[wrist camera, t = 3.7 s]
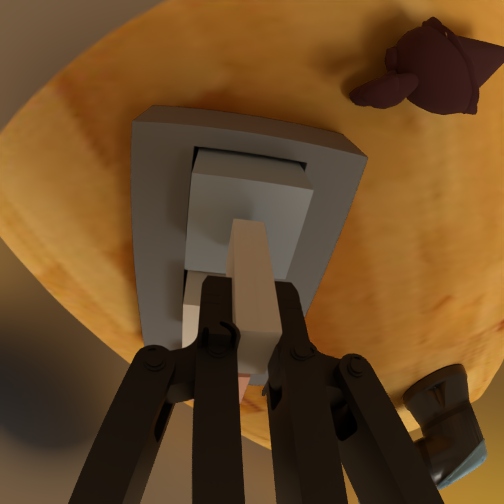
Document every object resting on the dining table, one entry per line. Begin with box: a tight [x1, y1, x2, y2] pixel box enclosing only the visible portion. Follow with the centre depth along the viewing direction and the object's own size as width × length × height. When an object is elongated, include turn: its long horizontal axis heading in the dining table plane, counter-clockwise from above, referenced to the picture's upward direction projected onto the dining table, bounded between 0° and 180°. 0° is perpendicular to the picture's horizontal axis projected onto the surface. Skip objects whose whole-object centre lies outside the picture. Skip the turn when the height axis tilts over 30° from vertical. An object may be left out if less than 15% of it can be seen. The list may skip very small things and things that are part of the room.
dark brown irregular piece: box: [349, 17, 504, 115], centre depth 15 cm, size 7×7×15 cm
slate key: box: [185, 147, 314, 279], centre depth 18 cm, size 6×6×4 cm
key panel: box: [131, 105, 368, 385], centre depth 26 cm, size 27×14×5 cm, turn 170°
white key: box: [182, 270, 226, 348], centre depth 23 cm, size 6×6×4 cm
